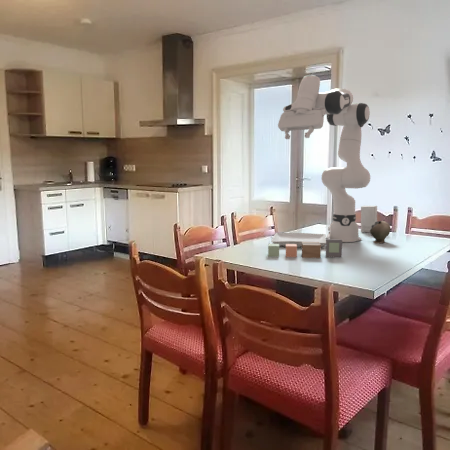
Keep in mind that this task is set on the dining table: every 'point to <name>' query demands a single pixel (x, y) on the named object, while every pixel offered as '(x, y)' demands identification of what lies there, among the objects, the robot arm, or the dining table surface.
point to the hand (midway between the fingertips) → (296, 138)
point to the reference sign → (333, 248)
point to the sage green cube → (273, 250)
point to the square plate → (298, 238)
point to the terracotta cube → (291, 250)
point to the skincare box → (368, 217)
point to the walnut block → (311, 250)
